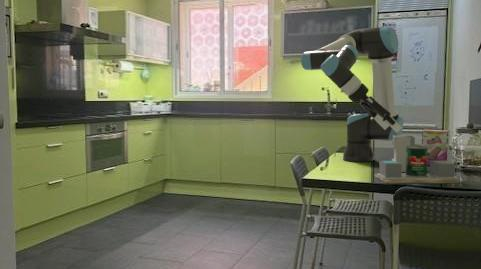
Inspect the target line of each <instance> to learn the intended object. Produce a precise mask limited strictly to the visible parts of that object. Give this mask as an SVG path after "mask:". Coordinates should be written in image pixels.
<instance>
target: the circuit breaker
mask: <svg viewBox="0 0 481 269" xmlns="http://www.w3.org/2000/svg"><path fill="white" fill-rule="evenodd" d="M415 143H416V138H415V137H414V136H413V135H401V136H397V135H395V136H394V135H393V139H392V141H391V146H392V148H393V158H391V161H396V162H398V163H401V164H402V172H405V165H406V146H424V145H422V143H421V144H420V143H419V144H417V143H416V144H415ZM427 155H429V153H427Z"/></svg>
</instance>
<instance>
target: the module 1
mask: <svg viewBox="0 0 481 269" xmlns="http://www.w3.org/2000/svg"><path fill="white" fill-rule="evenodd" d="M378 164H379V165H378V167H379V168H378V173H379V174H381V175H383V176H384V177H401V175H402V164H401V163H398V162H396V161H392V160H379V161H378Z"/></svg>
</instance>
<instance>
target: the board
mask: <svg viewBox="0 0 481 269" xmlns="http://www.w3.org/2000/svg"><path fill="white" fill-rule="evenodd" d="M374 176H375V177H377V178H379V179H380V180H382V181H384V182H386V183H385V184H461V183H462V181H461V179H459V178H458V179H431V180H383V179H382V178H380V177H378V176H376V173H375V174H374ZM375 177H374V178H375ZM377 178H376V179H377ZM379 179H378V180H379ZM380 180H379V181H380ZM382 181H381V182H382ZM384 182H383V183H384ZM387 182H388V183H387Z"/></svg>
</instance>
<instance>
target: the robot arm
mask: <svg viewBox="0 0 481 269" xmlns="http://www.w3.org/2000/svg"><path fill="white" fill-rule="evenodd" d="M398 50H399V38H398V34H397V32H396V30H395V28H393V27H391V26H380V27H379V26H378V27H377V26H376V27H369V28H360V29H355V30H352V31H349V32H348V33H345V34H343V35H341V36H339V38H337V40H335V41H334V42H332V43H329V44H328V45H325V46H323V47H321V48H319V49H316V50H309V51H304V52H303V53H302V54H301V58H300V62H301V63H300V64H301V66H302V69H304V70H305V71H316V70H317V71H320V70H321V71H322V72H323V74H324V75H325V76H326V77H328V78H329V80H331V82H333V83H334V84H335V86H337V87H338V89H340V93H343V94H344V95H345V96H347V97H348V99H349V100H350V101H351V102H352V103H353V104H356V103H358V104H359V105H360V106H361V107H362V108H363V110H364V111H365V113H360V114H359V113H358V114H352V115H349V116H348V117H347V123H346V146H345V149H344V152H343V156H342V159H343V160H344V161H346V162H354V163H355V162H358V163H361V162H362V163H364V162H365V163H366V162H367V163H368V162H374V161H375V154H374V151H373V147H372V145H371V144H372V142H371V141H387V142H392V139H393V135H394V136H395V135H397V136H402V133H403V129H404V118H403V116H399V111H398V110H397V109H395V108H396V107H395V96H394V93H395V92H394V82H393V78H394V77H393V67H392V59H394V57H395V53H397V52H398ZM359 55H367V59H368V60H369V61H370V62H371V66H372V68H371V69H372V80H373V91H374V92H373V93H374V94H373V95H374V98H373V96H371V95H370V96H368V95H367V94H368V93H369V88H368V86H366V85H365V84H364V82H363V83H362V80H361V79H360V78H359V77H357V75H356V74H354V72H352V70H351V69H352V68H353V66H354V65H355V64H356V62H357V60H358V57H359ZM373 160H374V161H373Z"/></svg>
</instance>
